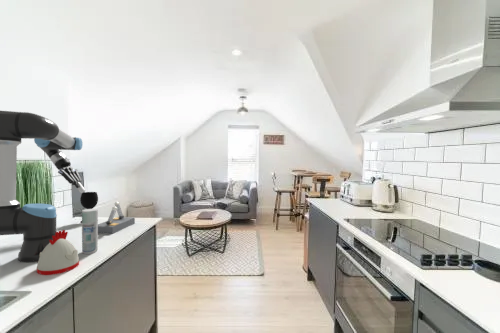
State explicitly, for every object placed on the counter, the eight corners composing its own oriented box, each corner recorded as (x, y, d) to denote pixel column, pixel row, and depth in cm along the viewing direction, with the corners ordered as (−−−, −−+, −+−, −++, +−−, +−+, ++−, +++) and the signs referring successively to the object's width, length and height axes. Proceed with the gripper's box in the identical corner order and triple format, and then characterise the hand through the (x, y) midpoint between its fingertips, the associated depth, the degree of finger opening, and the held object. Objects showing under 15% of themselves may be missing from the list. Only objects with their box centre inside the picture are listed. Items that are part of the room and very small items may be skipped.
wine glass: (81, 220, 182) (81, 192, 181) (98, 219, 186) (98, 191, 185) (79, 223, 172) (79, 194, 172) (97, 222, 177) (97, 193, 176)
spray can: (79, 254, 120) (79, 211, 119) (84, 249, 126) (84, 208, 125) (95, 253, 121) (95, 211, 121) (99, 248, 128) (99, 208, 127)
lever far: (122, 218, 170) (116, 201, 170) (118, 219, 170) (112, 203, 170) (125, 217, 173) (119, 201, 173) (121, 218, 173) (115, 202, 173)
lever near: (109, 225, 156) (116, 208, 155) (105, 223, 156) (112, 206, 155) (112, 224, 159) (119, 207, 158) (108, 222, 159) (115, 205, 158)
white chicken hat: (86, 261, 112) (86, 227, 112) (60, 276, 98) (60, 237, 98) (57, 259, 113) (57, 226, 113) (27, 273, 100) (26, 235, 99)
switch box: (112, 233, 152) (112, 226, 152) (93, 232, 153) (93, 225, 153) (134, 223, 176) (134, 217, 176) (118, 222, 177) (118, 216, 177)
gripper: (56, 157, 152) (79, 188, 150) (73, 158, 165) (95, 187, 163) (47, 165, 152) (70, 196, 151) (65, 165, 165) (86, 194, 164)
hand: (83, 191), depth 157 cm, fingers closed
